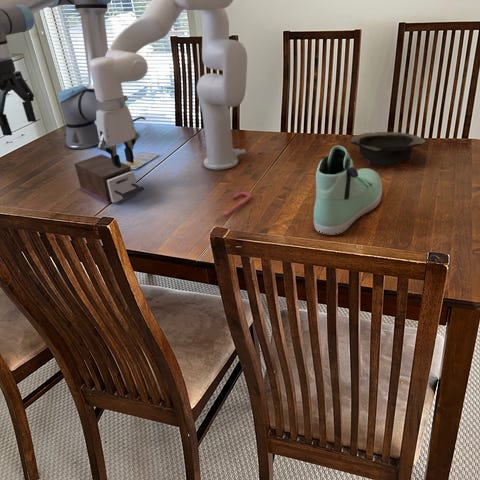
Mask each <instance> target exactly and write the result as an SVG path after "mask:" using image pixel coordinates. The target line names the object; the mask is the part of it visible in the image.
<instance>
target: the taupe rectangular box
mask: <svg viewBox="0 0 480 480" xmlns="http://www.w3.org/2000/svg"><path fill="white" fill-rule="evenodd" d="M120 163H121V168H118V167H116V166H114V165H113V163H112V159H111V157H109V156H106V155H105V154H98V155H95V156H92V157H89V158H87V159H83V160H80V161H77V162H75V163H73V164H74V168H75V172H76V176H77V180H78V182H79V183H78V184H79V187H80V190H82V191H83V192H85V193H87V194H89V195H91V196H92V197H95V198H97V199H98V200H100V201H102V202H104V203H106V204H108V205H110V204H113V202H112V201H111V198H110V196H109V192H108V188H107V183H106V178H109V177H112V176H114V175H117V174H120V173H122V172H125V171H127V172H130V171H132V169H131V167H130V166H128V165H126V164H124V163H123V162H121V161H120Z"/></svg>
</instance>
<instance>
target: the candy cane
mask: <svg viewBox="0 0 480 480" xmlns="http://www.w3.org/2000/svg"><path fill="white" fill-rule="evenodd" d="M240 197H245V198H243V199H242V200H240V201H238V203H236V204H235V205H234V206H232V207H231V208H229V209H228V210H226V211H225V212H224V213H223V216H224V217H225V218H226V217H229V216H230V215H232V214H233V213H235V212H236V211H237V210H239V209H240V208H241V207H243V206H245V205H246V204H248V203H249V202H250V201H252V198H253V195H252V194H251V193H250V192H247V191H238V192H235V193H234V194H233V195H232V200H236V199H238V198H240Z"/></svg>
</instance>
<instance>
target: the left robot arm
mask: <svg viewBox="0 0 480 480" xmlns="http://www.w3.org/2000/svg"><path fill="white" fill-rule="evenodd" d="M111 2H112V0H0V130H1V133H2V135H3V136H13V132H12V129H11V126H10V123H9V119H8V116H7V114H6V113H4V112H5V106H6V100H7V95H8V94H9V92H11V91H13V92H14V93H15V94H16V95H17V96H18V97H19V98H20V99H21V100H22V102H21V104H22V107H23V110H24V113H25V117H26V120H27V122H29V123H30V122H31V123H34V122H35V123H36V122H37V118H36V115H35V112H34V107H33V103H32V102H34V101H35V99H34V98H35V94H34V92H33V91H32V89H31V88H30V87H29V85H28V84H27V82H26V80H25V79H24V77H23V73H22V72H21V71H20V70H18V71H17V70H16V66H15V63H14V60H13V58H11V57H12V52H11V49H10V45H9V43H8V38H7V36H10V35H15V34H20V33H25V32H27V31H30V30H32V29H33V28H34V25H35V18H34V15H33V14H35V13H38V12H40V11H41V10H44V9H47V8H49V9H54V8H56V7H59V6H74V10H75V11H76V12H77V13H78V14H79V16H80V23H81V30H82V37H83V38H82V39H83V46H84V53H85V61H86V69H87V76H88V84H87V85H77V86H73V87H69V88H66V89H63V90H61V91H60V92H59V93H58V100H59V105H60V108H61V113H62V116H63V119H64V123H65V126H66V133H63V137H65V144H66V148H68V149H70V150H85V149H92V148H94V147H98V145H99V141H100V140H99V136H98V130H97V123H96V122H97V121H96V111H98V110H99V108H98V104H97V99H96V95H95V90H94V86H93V81H92V77H91V72H90V68H89V63H90V61H91V60H92V59H95V58H99V57H105V55H106V53H107V51H108V49H109V46H108V36H107V27H106V19H105V18H106V16H105V15H106V13H107V12H108V10H109V7H108V4H111ZM146 119H147V118H146V117H144V116H138V117H136V118H134V119H132V120H133V123H135V122H136V121H138V120H143V121H146Z"/></svg>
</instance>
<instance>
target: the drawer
mask: <svg viewBox="0 0 480 480" xmlns="http://www.w3.org/2000/svg"><path fill="white" fill-rule="evenodd" d="M106 183H107V188H108V192H109V196H110V198H111V201H112V202H113V203H114V204H115V203H117V202H120V201H122V200H126V199H128V198H129V197H133V196H135V195H137V194H140V193H142V192H144V191H145V190H146V189H145V186H143V185H138V184H137V181H136V177H135V171H133V170H131V171H130V172H127V171H125V172H122V173H120V174H117V175H114V176H112V177H109V178H106ZM113 203H112V204H113Z"/></svg>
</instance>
